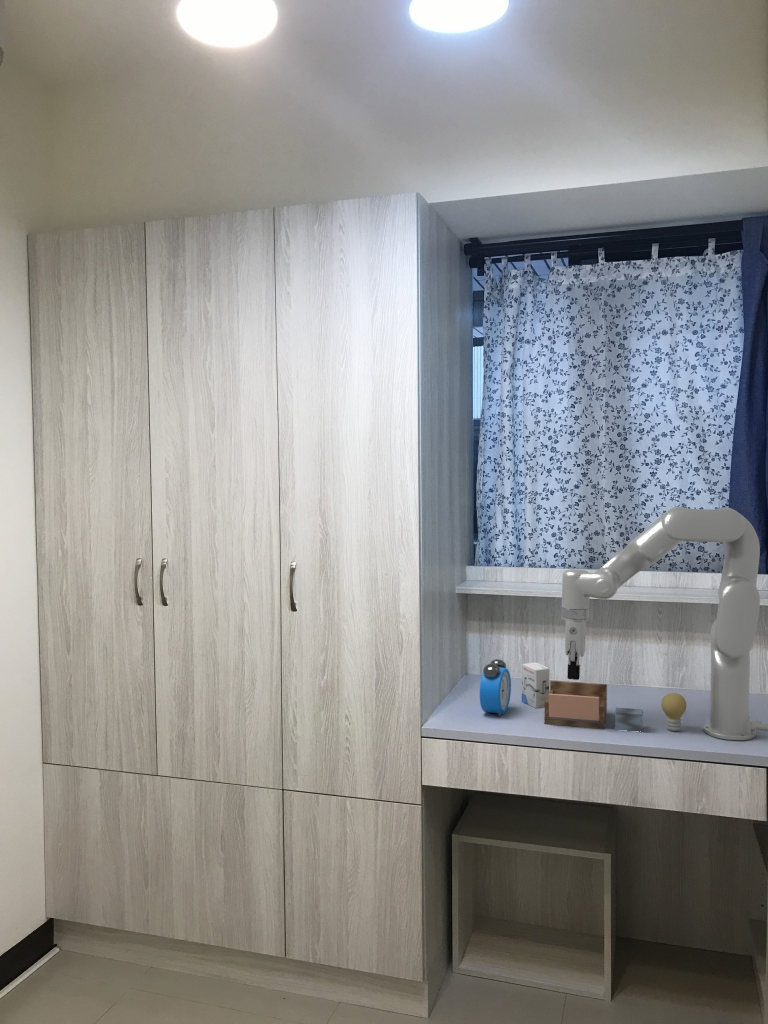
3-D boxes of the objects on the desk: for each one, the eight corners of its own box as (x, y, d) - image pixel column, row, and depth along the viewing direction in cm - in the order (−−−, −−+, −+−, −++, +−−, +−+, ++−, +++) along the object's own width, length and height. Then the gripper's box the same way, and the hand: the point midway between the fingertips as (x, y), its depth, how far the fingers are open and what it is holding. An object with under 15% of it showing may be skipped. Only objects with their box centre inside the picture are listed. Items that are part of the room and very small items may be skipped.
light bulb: (666, 725, 229) (666, 689, 228) (689, 729, 225) (690, 692, 224) (657, 730, 224) (657, 694, 223) (681, 735, 220) (681, 698, 219)
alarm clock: (499, 720, 235) (499, 667, 234) (478, 717, 237) (478, 665, 237) (511, 707, 247) (511, 657, 246) (491, 705, 249) (491, 656, 249)
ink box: (520, 701, 254) (520, 663, 253) (535, 699, 255) (535, 661, 255) (535, 708, 246) (535, 669, 245) (550, 706, 247) (550, 667, 247)
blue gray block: (642, 727, 227) (642, 709, 227) (642, 732, 223) (642, 714, 222) (615, 725, 229) (615, 707, 229) (615, 730, 225) (615, 712, 224)
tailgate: (599, 722, 226) (599, 697, 225) (598, 723, 225) (598, 698, 224) (549, 718, 230) (548, 693, 229) (548, 719, 230) (548, 694, 229)
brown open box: (606, 713, 240) (606, 684, 240) (603, 728, 226) (604, 697, 226) (550, 708, 245) (550, 680, 245) (544, 723, 231) (544, 693, 230)
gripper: (587, 619, 224) (585, 686, 225) (590, 610, 238) (589, 673, 239) (558, 617, 226) (557, 684, 227) (564, 608, 240) (562, 671, 241)
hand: (573, 678), depth 233 cm, fingers closed
